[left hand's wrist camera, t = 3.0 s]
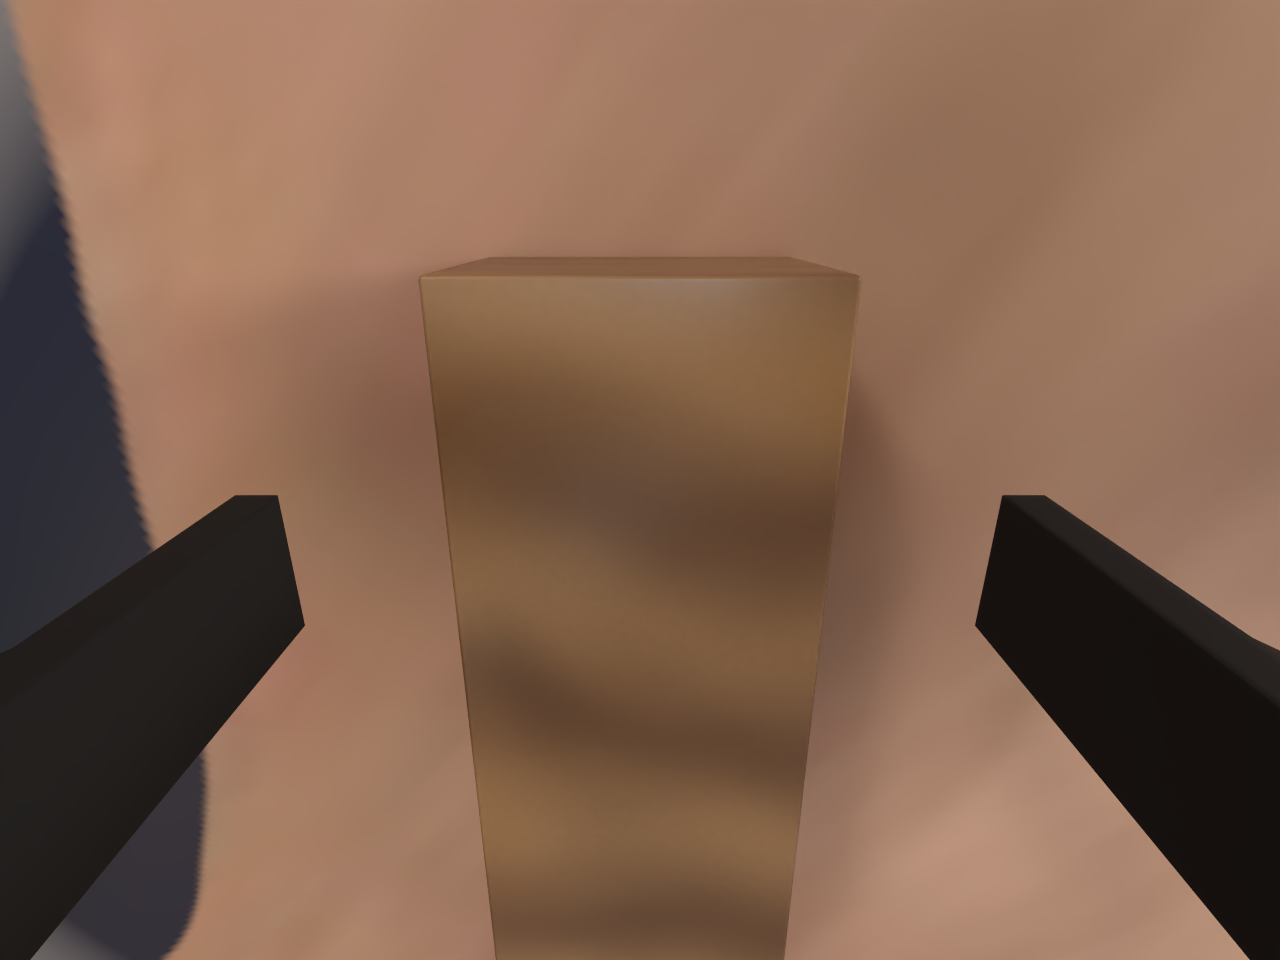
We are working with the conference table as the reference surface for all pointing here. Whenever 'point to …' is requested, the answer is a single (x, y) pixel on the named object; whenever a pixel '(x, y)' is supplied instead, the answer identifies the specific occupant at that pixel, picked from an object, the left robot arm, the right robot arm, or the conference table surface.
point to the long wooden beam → (639, 584)
